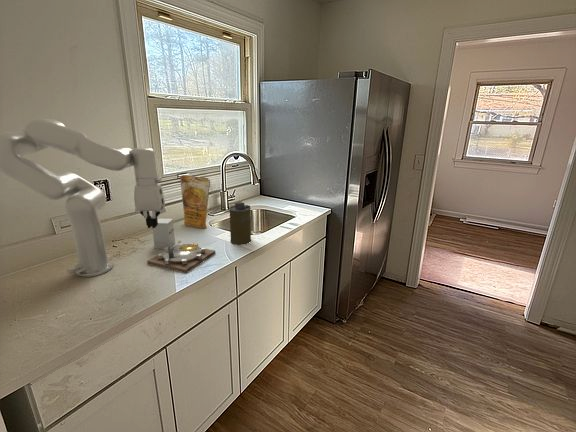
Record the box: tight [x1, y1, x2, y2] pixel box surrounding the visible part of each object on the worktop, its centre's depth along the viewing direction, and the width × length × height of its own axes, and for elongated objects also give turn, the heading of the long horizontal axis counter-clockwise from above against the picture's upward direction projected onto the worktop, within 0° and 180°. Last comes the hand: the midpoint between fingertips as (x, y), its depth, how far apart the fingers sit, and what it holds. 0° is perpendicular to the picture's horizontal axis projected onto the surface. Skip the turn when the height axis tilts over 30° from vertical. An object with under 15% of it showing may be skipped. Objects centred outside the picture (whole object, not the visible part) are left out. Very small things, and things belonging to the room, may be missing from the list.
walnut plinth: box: [146, 240, 217, 274], centre depth 133 cm, size 20×20×4 cm
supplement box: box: [152, 218, 176, 250], centre depth 144 cm, size 7×7×13 cm
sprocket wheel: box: [157, 242, 206, 265], centre depth 132 cm, size 19×19×6 cm
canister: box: [228, 201, 252, 246], centre depth 151 cm, size 11×10×20 cm
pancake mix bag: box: [179, 174, 211, 229], centre depth 170 cm, size 7×19×28 cm, turn 64°
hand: (152, 226), depth 121 cm, fingers closed
